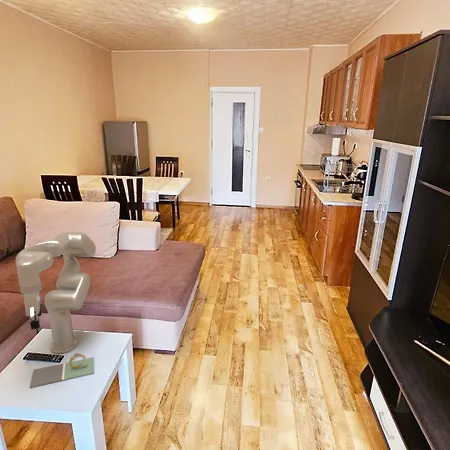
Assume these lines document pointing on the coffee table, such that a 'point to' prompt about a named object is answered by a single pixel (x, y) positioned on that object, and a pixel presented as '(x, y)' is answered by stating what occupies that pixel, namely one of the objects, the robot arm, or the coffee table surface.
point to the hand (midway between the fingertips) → (36, 322)
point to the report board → (61, 372)
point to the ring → (77, 357)
